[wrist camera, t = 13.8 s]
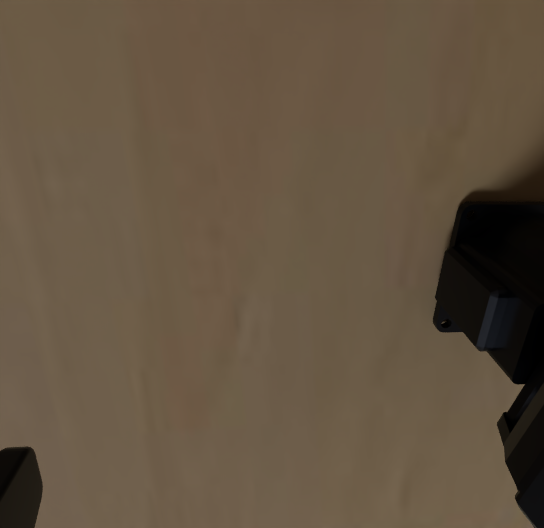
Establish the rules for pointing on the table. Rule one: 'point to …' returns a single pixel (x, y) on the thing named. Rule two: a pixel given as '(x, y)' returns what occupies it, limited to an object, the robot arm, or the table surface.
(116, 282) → the table surface
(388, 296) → the table surface
